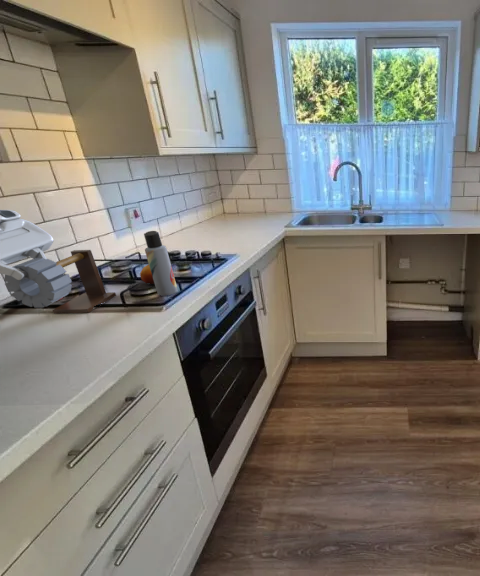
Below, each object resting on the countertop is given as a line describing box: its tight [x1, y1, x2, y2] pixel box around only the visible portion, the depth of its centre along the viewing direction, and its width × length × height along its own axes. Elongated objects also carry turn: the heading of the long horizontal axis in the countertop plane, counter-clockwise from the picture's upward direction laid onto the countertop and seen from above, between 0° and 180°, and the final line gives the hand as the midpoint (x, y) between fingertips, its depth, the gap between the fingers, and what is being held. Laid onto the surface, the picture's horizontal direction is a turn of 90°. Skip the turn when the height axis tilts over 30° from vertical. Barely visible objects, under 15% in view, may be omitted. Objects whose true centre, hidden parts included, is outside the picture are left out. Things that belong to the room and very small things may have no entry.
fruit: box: [139, 263, 155, 285], centre depth 124 cm, size 8×8×8 cm
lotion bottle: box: [143, 230, 178, 297], centre depth 112 cm, size 6×6×20 cm
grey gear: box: [3, 258, 73, 309], centre depth 81 cm, size 10×5×10 cm, turn 91°
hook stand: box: [52, 249, 117, 315], centre depth 106 cm, size 10×12×16 cm
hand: (37, 271), depth 80 cm, fingers closed on grey gear, 5 cm apart
